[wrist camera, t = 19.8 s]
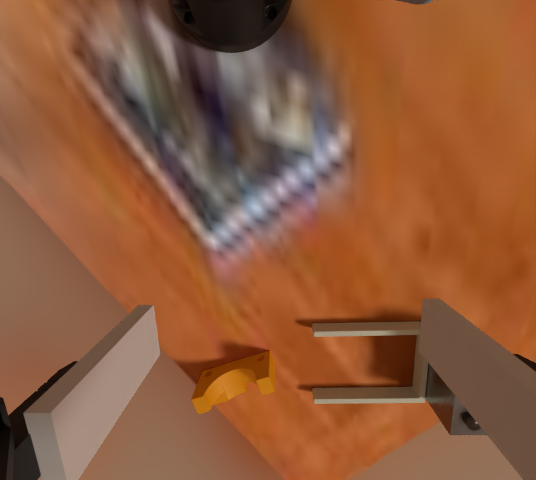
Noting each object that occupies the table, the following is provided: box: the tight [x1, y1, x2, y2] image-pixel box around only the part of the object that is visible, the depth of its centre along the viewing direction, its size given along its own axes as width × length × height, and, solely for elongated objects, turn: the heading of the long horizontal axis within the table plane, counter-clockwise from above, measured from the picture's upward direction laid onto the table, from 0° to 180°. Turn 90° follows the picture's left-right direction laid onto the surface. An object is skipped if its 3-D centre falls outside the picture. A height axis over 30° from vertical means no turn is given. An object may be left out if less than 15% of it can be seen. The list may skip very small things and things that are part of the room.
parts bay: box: [312, 321, 428, 404], centre depth 45 cm, size 13×17×2 cm
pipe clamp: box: [191, 350, 275, 414], centre depth 45 cm, size 12×4×6 cm, turn 110°
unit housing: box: [425, 363, 487, 435], centre depth 41 cm, size 11×5×10 cm, turn 2°
